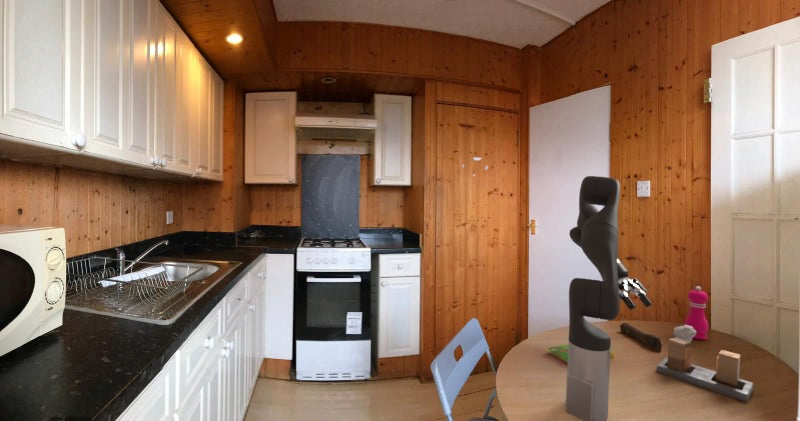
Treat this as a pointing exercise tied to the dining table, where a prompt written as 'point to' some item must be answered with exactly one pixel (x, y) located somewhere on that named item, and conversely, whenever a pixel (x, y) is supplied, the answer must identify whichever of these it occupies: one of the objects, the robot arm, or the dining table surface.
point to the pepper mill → (698, 313)
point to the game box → (566, 352)
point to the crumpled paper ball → (685, 332)
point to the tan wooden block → (679, 354)
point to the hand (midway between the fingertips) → (641, 307)
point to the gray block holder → (715, 376)
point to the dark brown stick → (642, 336)
